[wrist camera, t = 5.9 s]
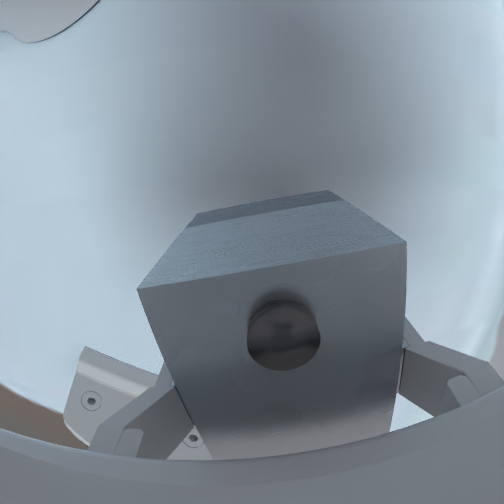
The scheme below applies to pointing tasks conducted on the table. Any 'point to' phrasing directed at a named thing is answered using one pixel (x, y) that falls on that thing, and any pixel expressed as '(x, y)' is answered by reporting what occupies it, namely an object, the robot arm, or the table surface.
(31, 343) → the table surface
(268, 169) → the table surface
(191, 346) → the block
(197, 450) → the hinge
